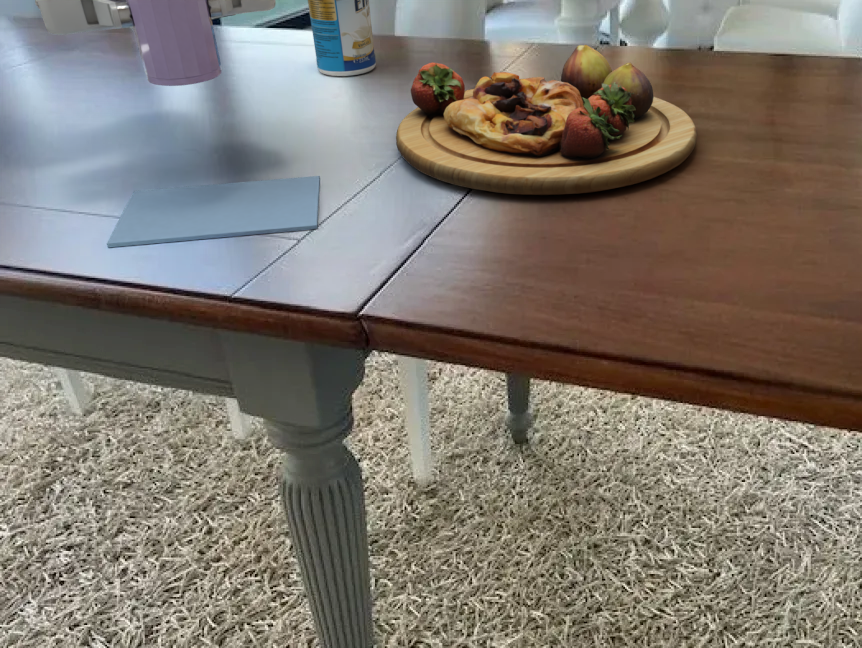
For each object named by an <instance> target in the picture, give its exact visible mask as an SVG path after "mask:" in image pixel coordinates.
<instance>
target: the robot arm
mask: <svg viewBox="0 0 862 648" xmlns="http://www.w3.org/2000/svg"><path fill="white" fill-rule="evenodd" d="M276 1H277V0H207V2H208V5H209V11H210V16H211V19H212V21H213V20H216V19H222V18H228V17H232V16H236V15H241V14H247V13H248V14H249V13H257V12H269V11H271V10H274V9H275V7H276V4H277V3H276ZM34 3H35V4H34V5H35V6H37V8H38V9H39V11H40V13H41V14H40V15H41V18H42V20H43V23H44V26H45V29H46V31H47V33H48V34H51V35H56V36H67V35H73V34H82V33H83V34H84V33H91V32H99V31H106V30H107V31H109V30H119V29H127V28H129V29H131V30H132V31H134V29H133V27H134V24H133V20H132V18H131V17H130V15H131V12H130V8H129V5H128V4H127V2H126V0H34Z"/></svg>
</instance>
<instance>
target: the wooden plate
mask: <svg viewBox="0 0 862 648" xmlns="http://www.w3.org/2000/svg"><path fill="white" fill-rule="evenodd" d="M490 76H491V77H489V76H482V77H481V78H479V80H478V81H477V83H476V85H475V86H474V88H470V89H466V87H465V82H464V80H463V77H462V76H460V74H458V73H457V72H456V71H455V70H454V69H453V68H452V67H449V66H447V65H446V64H444V63H438V62H429V63H427V64H424V65H423V66H421V68H420V69H419V70H418V72H417V75H416V76H415V77H414V79H413V81H412V85H411V88H410V96H411V99H412V102H413V104H414V105H415V106H416V108H414V109H413V110H411V111H410V112H409V113H408V114H407V115H405V117H404V118H402V119H401V121H400V123H399V124H398V127H397V130H396V133H395V134H396V135H395V142H396V148H397V150H398V153H399V154H400V155H401V157H402V158H403V159H404V160H405V161H406V163H408V164H409V165H410V166H411V167H413V168H414V169H416V170H417V171H419V172H420V173H421V174H424V175H426V176H429V177H431V178H433V179H436V180H438V181H442V182H444V183H448V184H451V185H454V186H457V187H458V186H459V187H463V188H468V189H473V190H479V191H485V192H490V193H491V192H492V193H499V194H508V195H527V196H528V195H529V196H530V195H531V196H549V195H550V196H552V195H557V196H558V195H576V194H588V193H595V192H601V191H608V190H614V189H618V188H619V189H620V188H623V187H628V186H632V185H635V184H639V183H642V182H645V181H648V180H652V179H654V178H657V177H658V176H662V175H663V174H665V173H667V172H669V171H672V170H673V169H675V168H677V167H678V166H680V165H681V164H682V163H683V162H684V161H686V159H688V157H689V156H690V155H691V153H692V152H693V150H694V149H695V147H696V144H697V139H698V132H697V127H696V124H695V123H694V121H693V119H692V118H691V117H690V116H689V115H688V114H687V113H686V112H685V111H684V110H683V109H681V108H680V107H678V106H677V105H675V104H673V103H671V102H668V101H666V100H664V99H661V98H658V97H656V96H654V89H653V85H652V84H651V83H652V82H651V81H650V79H649V78H648V77H647V76H646V74H645V73H644V72H642V71H641V69H638V68H637V67H636V66H634V64H632V63H631V62H625V63H624V64H622V65H621V66H619V67H617V68H615V69H614V70H612V67H611V65H610V63H609V62H608V60H607V58H606V57H605V56H603V55H602V53H600V52H599V51H598V50H596V49H594V48H593V47H592V46H589V45H587V44H584V45H582V44H579V45H577V46H576V47H575V48H574V49H573V51H572V53H571V54H570V56H569V57H568V58H567V60H565V62H564V65H563V67H562V71H561V74H560V80H555V79H551V80H548V81H547V80H546V78H545V77H544V76H533V77H525V78H520V75H518V74H515V73H512V72H507V71H501V72H500V71H499V72H496V71H494V72H493V73H492V75H490Z"/></svg>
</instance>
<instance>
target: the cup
mask: <svg viewBox="0 0 862 648" xmlns="http://www.w3.org/2000/svg"><path fill="white" fill-rule="evenodd" d="M126 2H127V4H128V5H129V8H130V12H131V15H130V17H131V18H132V20H133V24H134V27H133V29H134V30H133V29H132V30H133V32H134V36H135V40H136V44H137V47H138V51H139V55H140V59H141V63H142V67H143V70H144V73H145V76H146V80H147V82H148V83H150V84H152V85H155V86H162V87H178V86H179V87H180V86H181V87H182V86H189V85H195V84H201V83H204V82H208V81H211V80H214V79H215V78H218V77H219V76H220V75H222V71H223V69H222V66H221V65H222V63H221V59H220V53H219V48H218V44H217V39H216V34H215V30H214V25H213V20H212V19H211V16H210V11H209V5H208V2H207V0H126Z"/></svg>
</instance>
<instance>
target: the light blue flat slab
mask: <svg viewBox="0 0 862 648" xmlns="http://www.w3.org/2000/svg"><path fill="white" fill-rule="evenodd" d="M320 185H321V177H320V175H312V176H311V175H310V176H298V177H288V178H287V177H286V178H277V179H276V178H275V179H262V180H251V181H238V182H227V183H213V184H202V185H190V186H179V187H177V186H176V187H165V188H153V189H141V190H133V192H132V194H131V196H130V198H129V199H128V202H127V203H126V205H125V208H124V210H123V211H122V213H121V215H120V217H119V219H118V221H117V223H116V225H115V227H114V229H113V230H112V232H111V235H109V236H110V237H108V240H107V242H106V246H107V248H119V247H128V246H140V245H141V246H142V245H151V244H152V245H153V244H163V243H173V242H174V243H175V242H186V241H198V240H208V239H220V238H230V237H232V238H233V237H241V236H252V235H253V236H254V235H264V234H265V235H266V234H277V233H285V232H298V231H308V230H309V231H311V230H318V225H319V208H320V207H319V205H320V188H321V186H320Z"/></svg>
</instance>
